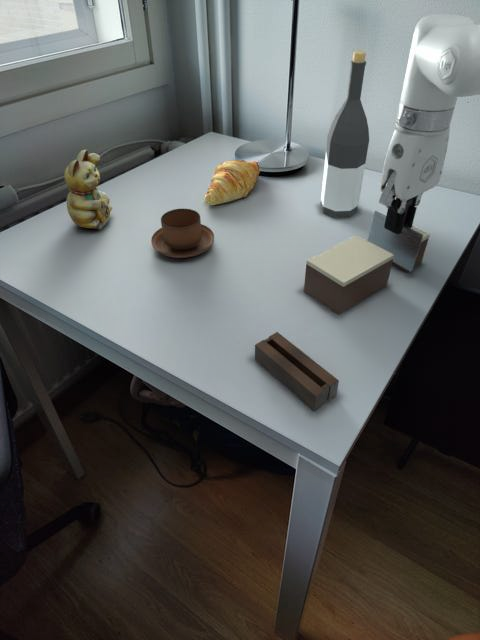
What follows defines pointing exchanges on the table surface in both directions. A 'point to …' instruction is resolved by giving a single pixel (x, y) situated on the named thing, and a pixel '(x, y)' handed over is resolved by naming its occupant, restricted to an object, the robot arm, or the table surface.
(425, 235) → the cake slice
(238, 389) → the table surface
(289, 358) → the knife stand
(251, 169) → the croissant
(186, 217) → the cup and saucer
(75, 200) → the decorative figurine
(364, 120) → the wine bottle
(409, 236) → the metal dough scraper
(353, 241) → the cake
